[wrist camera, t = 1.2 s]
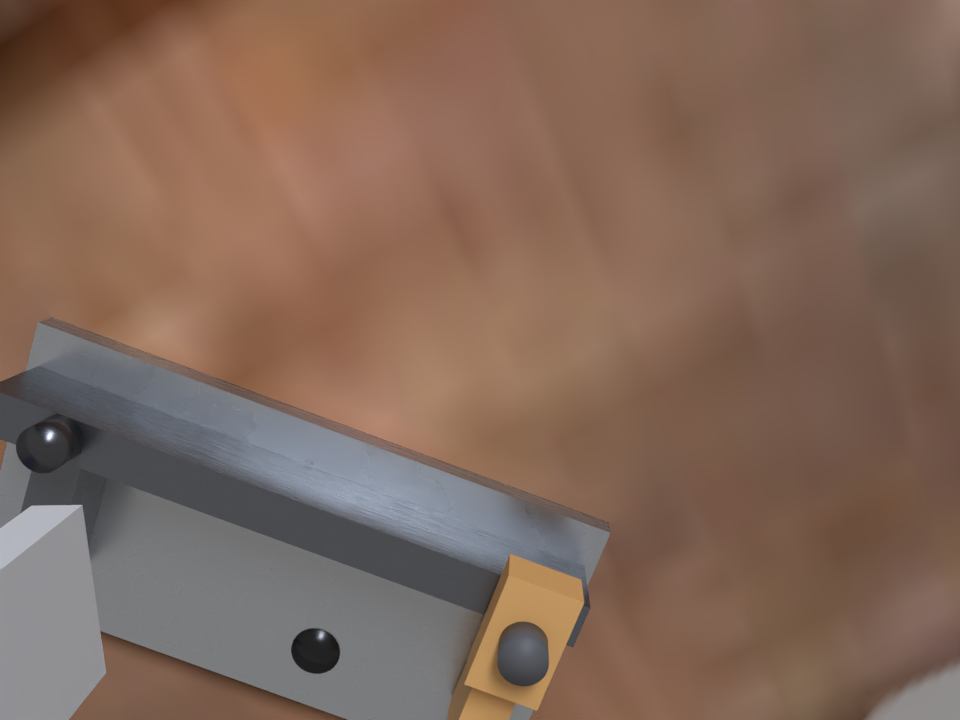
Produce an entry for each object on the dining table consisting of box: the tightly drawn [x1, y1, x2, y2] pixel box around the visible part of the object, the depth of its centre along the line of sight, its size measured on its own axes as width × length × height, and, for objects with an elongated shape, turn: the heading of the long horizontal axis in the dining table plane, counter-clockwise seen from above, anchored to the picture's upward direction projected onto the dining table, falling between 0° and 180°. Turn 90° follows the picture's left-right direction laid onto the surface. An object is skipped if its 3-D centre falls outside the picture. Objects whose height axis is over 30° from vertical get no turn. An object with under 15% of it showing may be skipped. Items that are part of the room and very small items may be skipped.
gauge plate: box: [0, 318, 610, 720], centre depth 40 cm, size 28×14×7 cm, turn 70°
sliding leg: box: [447, 554, 584, 720], centre depth 39 cm, size 3×11×7 cm, turn 160°
